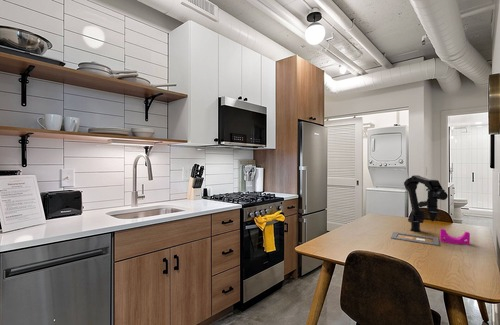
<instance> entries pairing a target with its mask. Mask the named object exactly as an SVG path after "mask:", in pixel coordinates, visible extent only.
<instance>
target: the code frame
mask: <svg viewBox="0 0 500 325" xmlns="http://www.w3.org/2000/svg"><path fill="white" fill-rule="evenodd" d="M398 235H401V236H402V235H403V236H404V237H398ZM414 237H415V239H414ZM390 239H391V240H397V241H398V240H399V241H404V242H405V241H406V242H412V243H417V244H418V243H419V244H424V245H430V246H438V247H440V241H439V240H440V239H439V238H438V237H431V236H426V235H419V234H412V233H404V232H397V231H392V234H391V236H390ZM426 239H428V240H432V242H430V241H426Z"/></svg>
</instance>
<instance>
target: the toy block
mask: <svg viewBox="0 0 500 325" xmlns="http://www.w3.org/2000/svg"><path fill="white" fill-rule="evenodd" d="M439 230H440V232H439V235H440V237H439V240H440V242H442V243H449V244H455V245H470V243H471V242H470V241H471V233H470V232H469V231H464V233H463V234H462V235H461V236H457V237H455V236H452V235H450V234H449V233H448V232H447V230H446V229H445V228H440V229H439Z"/></svg>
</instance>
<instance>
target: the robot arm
mask: <svg viewBox="0 0 500 325" xmlns="http://www.w3.org/2000/svg"><path fill="white" fill-rule="evenodd" d="M419 184H423V185H424V187H426V188H425V191H426V192H427V198H426V200H424V201H423V200H421V201H418V196H417V188H418V185H419ZM403 186H404V189H405V190H406V191H407V192H408V196H409V202H410V205H411V206H410V207H411V212H410V216H409V217H408V219H407V221H408V222H409V223H410V231H412V232H421V231H422V230H421V224H423V223H424V222H425V214H424V210H421V209H420V208H424V207H426V212H427V213H428V214H429V217H430V221H431V222H433V223H434V221H435V220H436V217H437V215H438V214H439V208H438V200H441V201H445V200H447V198H448V196H449V195H448V193H447V192H446V191H445V189H443V187H442V185H441V183H440V182H439V180H438V179H429V178H426V177H424V176H423V177H422V176H421V175H415V174H414V175H411V177H409V178H407V179H405V181H403Z"/></svg>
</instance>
